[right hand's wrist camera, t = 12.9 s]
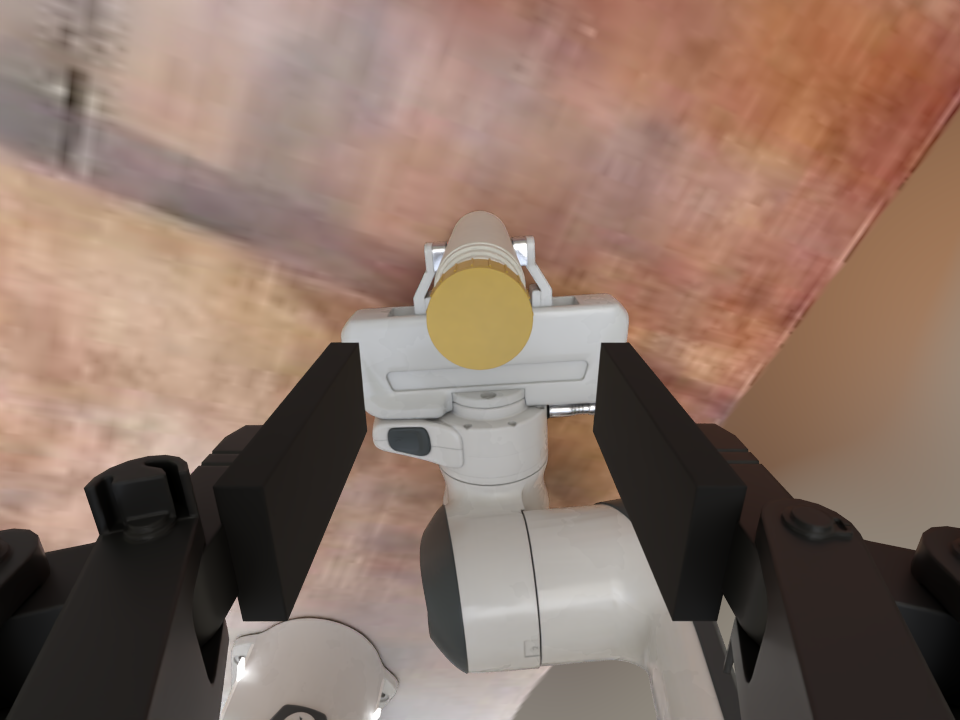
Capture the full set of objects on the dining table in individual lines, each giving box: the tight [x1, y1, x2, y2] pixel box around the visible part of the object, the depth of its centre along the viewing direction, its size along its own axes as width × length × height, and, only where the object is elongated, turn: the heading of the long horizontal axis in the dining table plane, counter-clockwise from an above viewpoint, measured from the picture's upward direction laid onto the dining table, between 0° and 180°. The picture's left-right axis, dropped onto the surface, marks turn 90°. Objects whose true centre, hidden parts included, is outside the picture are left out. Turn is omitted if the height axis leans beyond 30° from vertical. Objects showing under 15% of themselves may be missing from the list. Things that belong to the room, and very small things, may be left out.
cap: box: [426, 258, 534, 370], centre depth 21 cm, size 4×4×2 cm
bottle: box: [434, 211, 526, 289], centre depth 31 cm, size 5×5×22 cm
